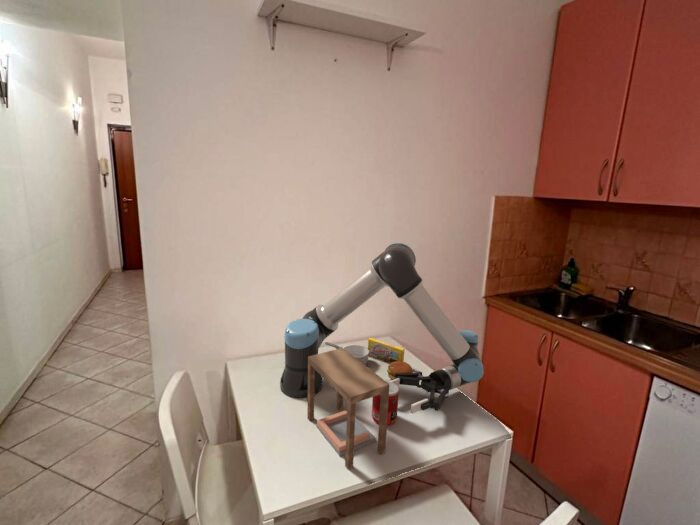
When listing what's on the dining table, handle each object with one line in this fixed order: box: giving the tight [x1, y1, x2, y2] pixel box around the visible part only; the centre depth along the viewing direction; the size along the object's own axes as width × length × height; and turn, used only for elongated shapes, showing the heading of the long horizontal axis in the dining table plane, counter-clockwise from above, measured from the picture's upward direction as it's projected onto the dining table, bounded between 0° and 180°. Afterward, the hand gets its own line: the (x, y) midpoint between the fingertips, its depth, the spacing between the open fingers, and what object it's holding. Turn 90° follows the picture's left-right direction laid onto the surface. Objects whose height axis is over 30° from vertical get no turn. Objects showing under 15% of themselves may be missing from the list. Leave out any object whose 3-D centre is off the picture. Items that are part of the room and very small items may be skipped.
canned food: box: [371, 380, 400, 426], centre depth 114 cm, size 8×8×11 cm
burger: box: [386, 361, 414, 380], centre depth 140 cm, size 10×9×5 cm
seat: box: [315, 409, 377, 457], centre depth 107 cm, size 12×14×2 cm
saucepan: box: [324, 341, 369, 366], centre depth 150 cm, size 12×20×6 cm, turn 61°
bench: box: [306, 348, 389, 470], centre depth 105 cm, size 12×24×21 cm, turn 32°
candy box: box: [367, 337, 405, 365], centre depth 150 cm, size 16×2×8 cm, turn 55°
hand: (396, 397), depth 115 cm, fingers open, 13 cm apart
